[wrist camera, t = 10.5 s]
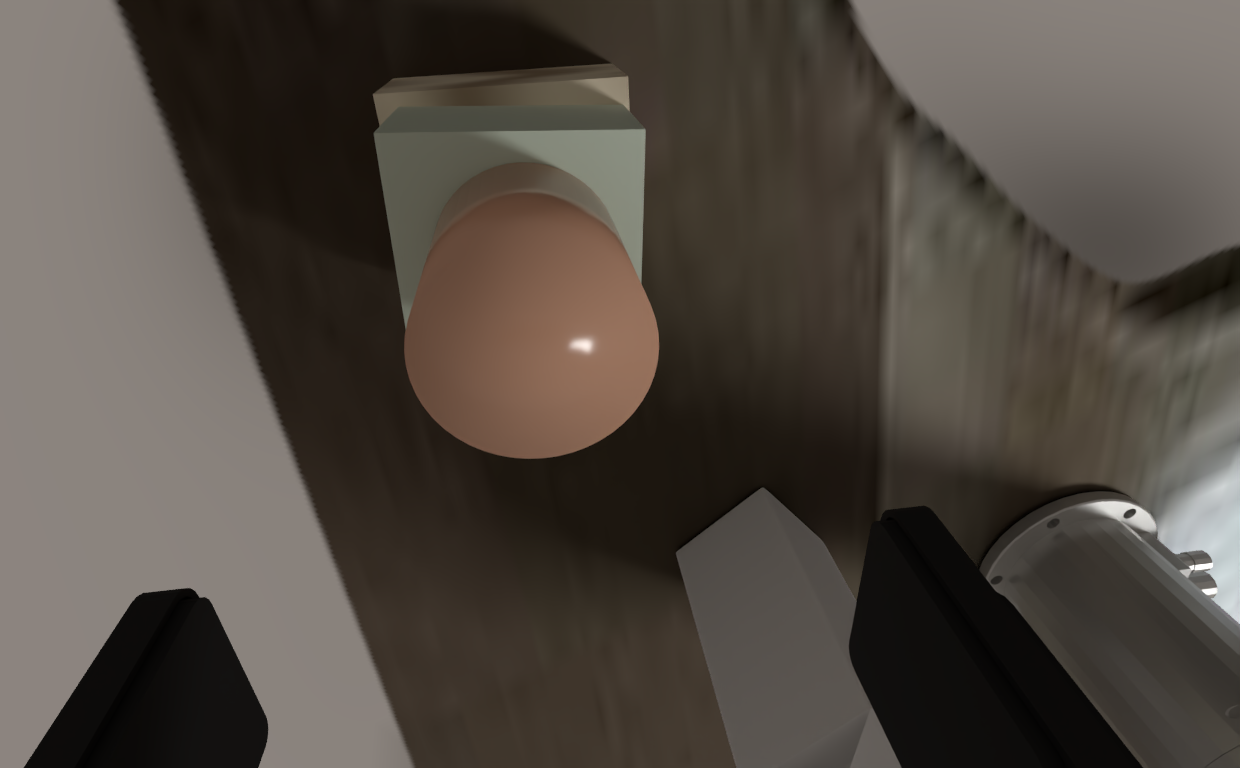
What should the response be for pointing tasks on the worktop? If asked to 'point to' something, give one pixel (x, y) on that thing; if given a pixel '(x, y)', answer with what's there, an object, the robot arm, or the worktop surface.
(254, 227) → the worktop surface
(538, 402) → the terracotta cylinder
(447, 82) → the birch block
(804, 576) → the milk carton
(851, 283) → the worktop surface
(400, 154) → the sage block
